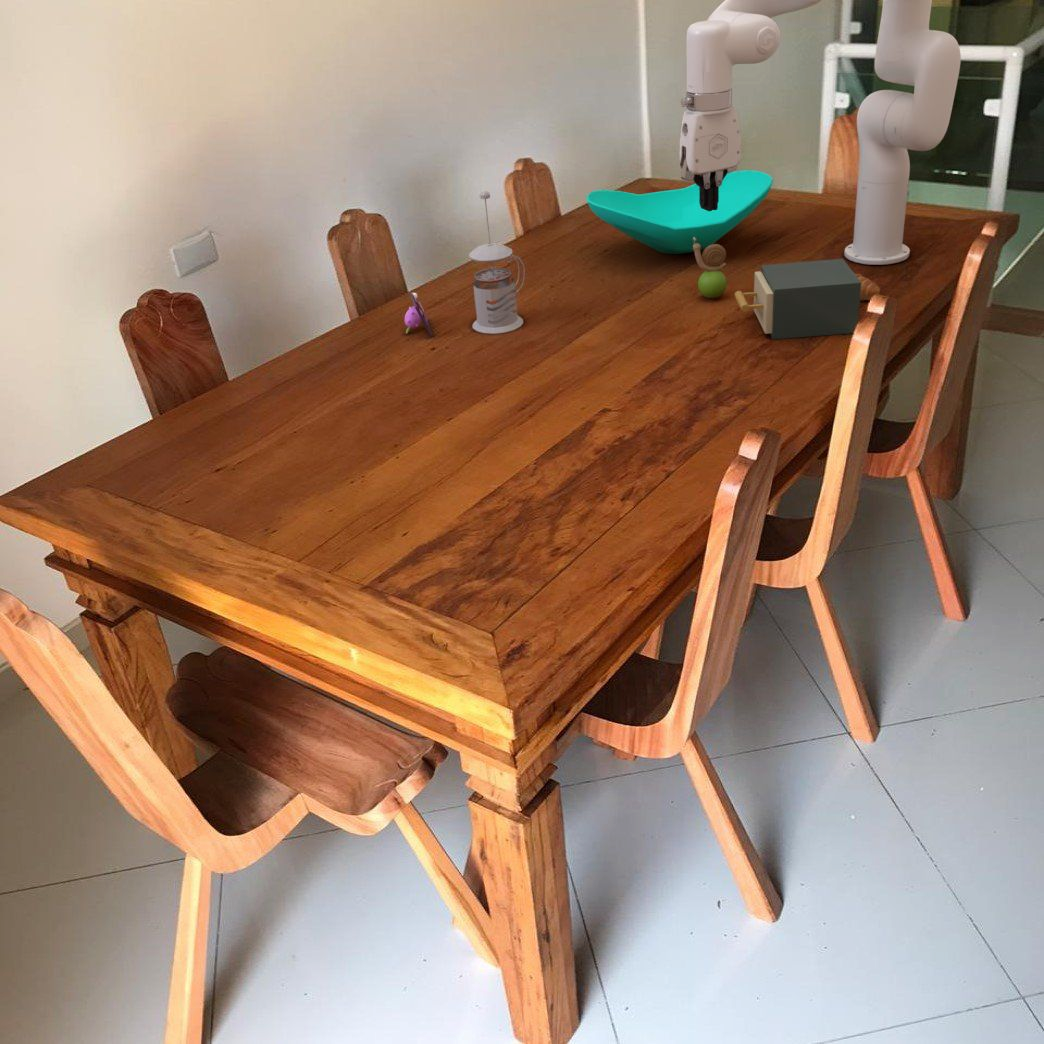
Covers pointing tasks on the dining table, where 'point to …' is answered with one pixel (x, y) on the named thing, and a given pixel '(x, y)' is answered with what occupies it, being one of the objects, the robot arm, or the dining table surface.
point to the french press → (498, 314)
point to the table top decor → (681, 212)
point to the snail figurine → (711, 270)
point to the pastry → (867, 288)
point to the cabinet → (813, 298)
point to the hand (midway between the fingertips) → (708, 208)
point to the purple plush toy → (415, 315)
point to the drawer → (759, 301)
